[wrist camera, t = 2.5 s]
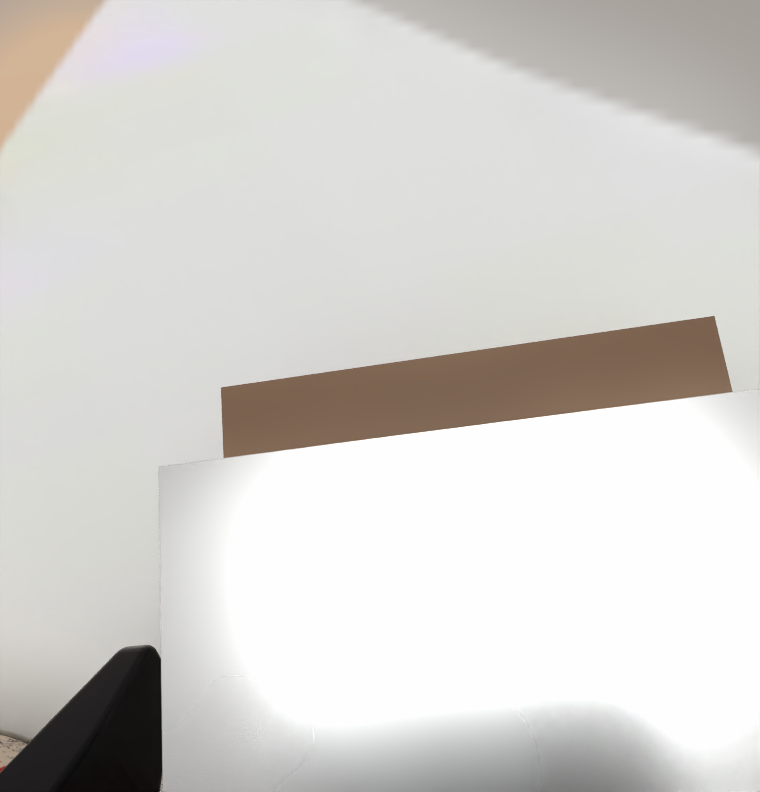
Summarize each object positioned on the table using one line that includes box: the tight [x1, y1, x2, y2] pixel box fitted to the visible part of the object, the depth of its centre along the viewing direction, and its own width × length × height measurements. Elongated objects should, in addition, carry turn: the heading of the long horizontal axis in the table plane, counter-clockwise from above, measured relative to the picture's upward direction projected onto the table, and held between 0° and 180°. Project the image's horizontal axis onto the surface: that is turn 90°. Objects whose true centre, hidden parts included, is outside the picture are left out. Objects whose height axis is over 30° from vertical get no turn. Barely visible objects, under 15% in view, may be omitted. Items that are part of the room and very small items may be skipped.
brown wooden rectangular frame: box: [221, 316, 732, 458], centre depth 15 cm, size 14×11×3 cm
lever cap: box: [159, 389, 760, 792], centre depth 11 cm, size 4×5×12 cm
